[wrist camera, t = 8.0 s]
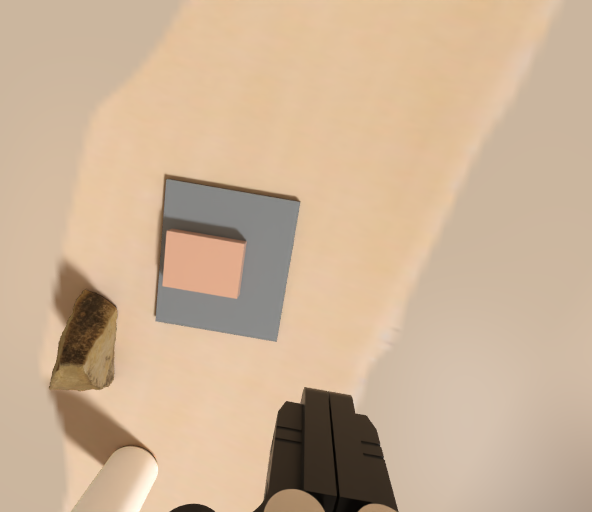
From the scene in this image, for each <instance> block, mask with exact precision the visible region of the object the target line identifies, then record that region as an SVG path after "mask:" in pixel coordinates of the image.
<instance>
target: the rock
mask: <svg viewBox="0 0 592 512" xmlns="http://www.w3.org/2000/svg"><path fill="white" fill-rule="evenodd" d="M116 319H117V309H116V307H115V306H113V305H112V304H111V303H110V302H109V301H107V300H106V299H105V298H103V297H102V296H100V295H98V294H96V293H93V292H90V291H88V290H84V291H83V292H82V295H80V296H79V297H78V298H77V300H76V303H75V305H74V309H73V313H72V315H71V316H70V318H69V320H68V321H67V325H66V327H65V329H64V331H63V332H62V336H61V338H60V341H59V346H58V355H57V360H56V364H55V366H54V369H53V371H52V377H51V382H50V386H49V389H50V390H78V391H85V390H90V389H95V390H100V389H103V388H104V387H108V386H110V384H111V383H112V381H113V380H114V343H115V340H116V330H117V328H116Z"/></svg>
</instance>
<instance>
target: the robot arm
mask: <svg viewBox="0 0 592 512" xmlns="http://www.w3.org/2000/svg"><path fill="white" fill-rule="evenodd" d="M383 458H384V456H383V452H382V449H381V447H380V441H379V437H378V434H377V430H376V428H375V427H374V425H373V424H372V423H371V422H370V420H369V418H368V417H367V416H366V415H360V414H355V410H354V404H353V399H352V396H351V395H346V394H341V393H335V392H329V391H328V392H327V391H323V390H318V389H312V388H307V387H304V390H303V394H302V399H301V403H300V404H299V403H294V402H288V401H286V402H285V403H284V405H283V406H282V407H281V409H280V410H279V411H278V415H277V420H276V425H275V430H274V435H273V440H272V445H271V450H270V457H269V464H268V472H267V479H266V486H265V494H264V501H263V502H262V504H261V505H260V506H259V507H258V508H257V509H256V510H255V511H253V512H398V509H397V505H396V501H395V497H394V494H393V490H392V487H391V482H390V479H389V475H388V471H387V468H386V464H385V460H384V459H383ZM170 512H215V511H214V510H212V509H211V508H209V507H207V506H204V505H200V504H186V505H183V506H180V507H177V508H175V509H173V510H172V511H170Z"/></svg>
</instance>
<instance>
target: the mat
mask: <svg viewBox="0 0 592 512" xmlns="http://www.w3.org/2000/svg"><path fill="white" fill-rule="evenodd" d="M299 206H300V202H299V201H293V200H287V199H281V198H275V197H270V196H264V195H258V194H252V193H246V192H241V191H235V190H229V189H223V188H217V187H212V186H206V185H200V184H194V183H188V182H183V181H177V180H171V179H166V190H165V203H164V216H163V230H162V243H161V256H160V269H159V282H158V295H157V308H156V321H158V322H164V323H170V324H176V325H181V326H187V327H193V328H199V329H205V330H211V331H217V332H222V333H228V334H234V335H240V336H246V337H252V338H258V339H264V340H269V341H275V342H277V336H278V330H279V325H280V319H281V313H282V307H283V301H284V295H285V289H286V283H287V277H288V271H289V265H290V260H291V254H292V248H293V242H294V236H295V230H296V224H297V218H298V212H299ZM170 229H178V230H184V231H189V232H195V233H201V234H207V235H213V236H219V237H224V238H230V239H236V240H242V241H247V244H246V252H245V259H244V266H243V274H242V281H241V288H240V294H239V296H238V298H237V299H235V298H229V297H223V296H217V295H211V294H206V293H200V292H194V291H188V290H182V289H176V288H170V287H165V286H162V284H163V271H164V258H165V246H166V233H167V230H170Z"/></svg>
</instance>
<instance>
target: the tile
mask: <svg viewBox="0 0 592 512" xmlns="http://www.w3.org/2000/svg"><path fill="white" fill-rule="evenodd" d="M246 244H247V241H242V240H236V239H230V238H224V237H219V236H213V235H207V234H201V233H195V232H189V231H184V230H178V229H170V230H167V233H166V246H165V258H164V271H163V284H162V286H165V287H170V288H176V289H182V290H188V291H194V292H200V293H206V294H211V295H217V296H223V297H229V298H235V299H237V298H238V296H239V294H240V288H241V281H242V274H243V266H244V259H245V252H246Z"/></svg>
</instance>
